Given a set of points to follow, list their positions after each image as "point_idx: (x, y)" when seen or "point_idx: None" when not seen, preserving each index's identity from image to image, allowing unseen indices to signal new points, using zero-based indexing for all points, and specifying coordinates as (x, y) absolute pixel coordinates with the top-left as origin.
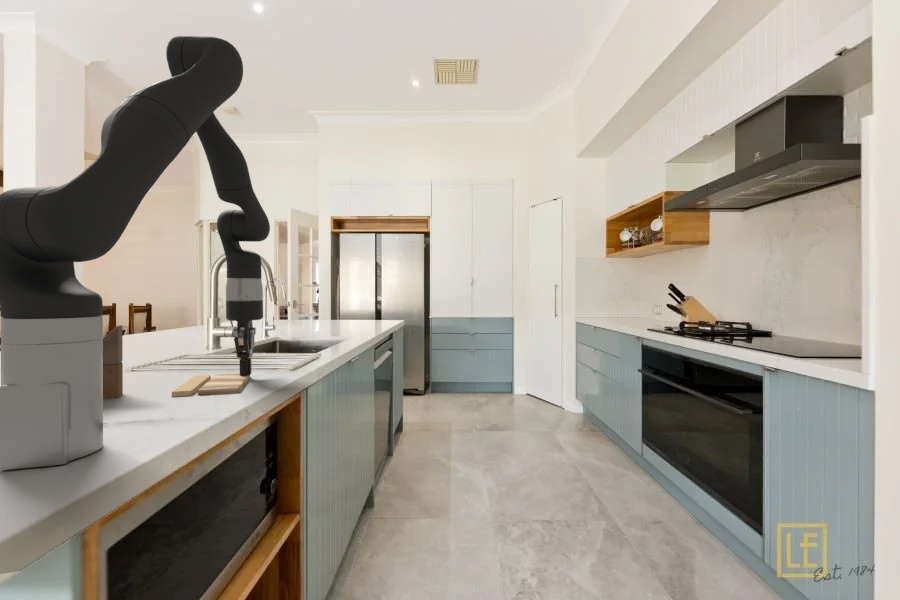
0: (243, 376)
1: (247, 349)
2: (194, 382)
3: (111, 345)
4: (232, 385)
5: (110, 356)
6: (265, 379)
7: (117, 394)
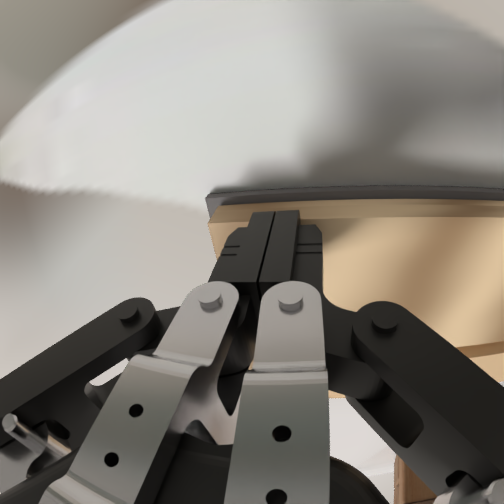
0: (329, 239)
1: (486, 380)
2: None
3: None
4: None
5: None
6: (180, 125)
7: None
